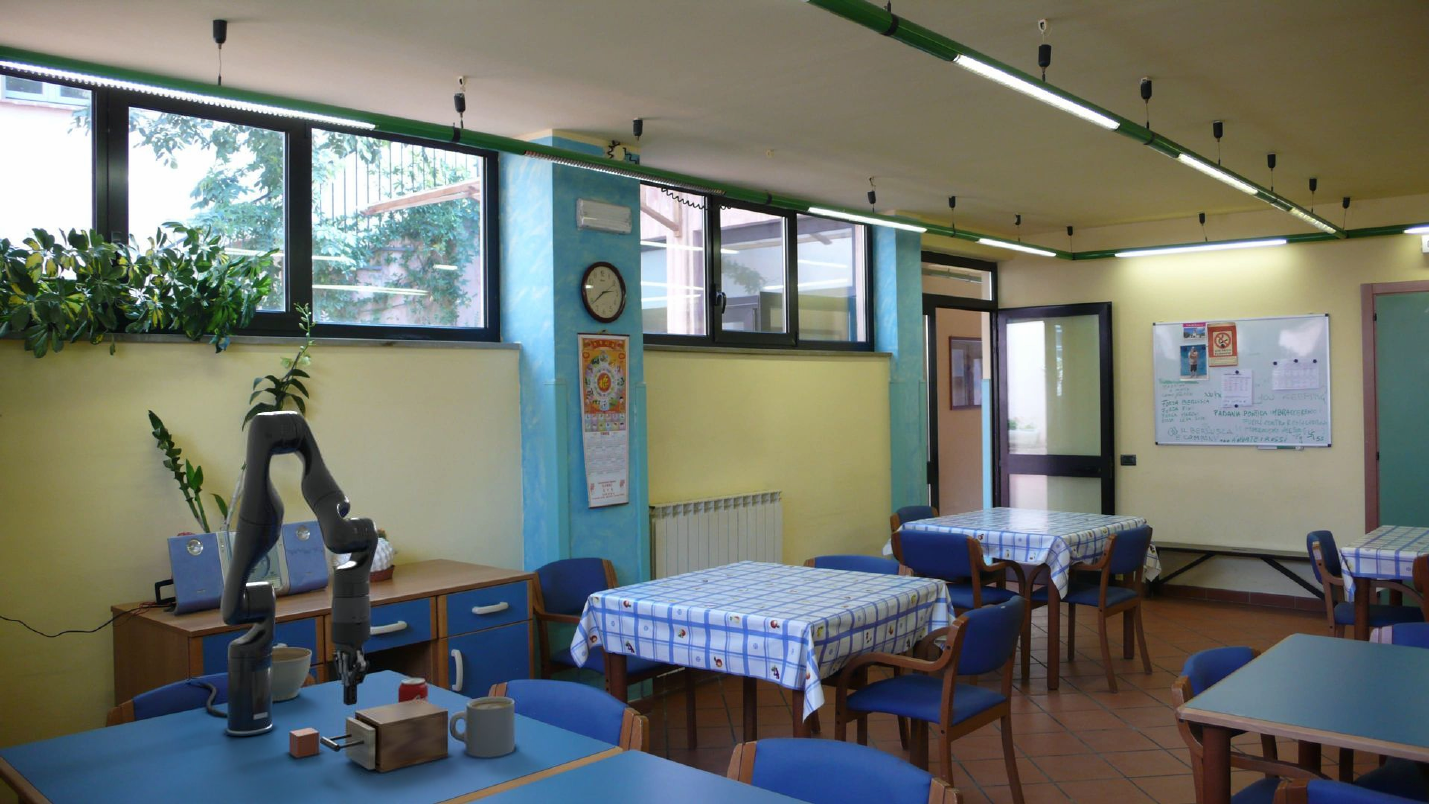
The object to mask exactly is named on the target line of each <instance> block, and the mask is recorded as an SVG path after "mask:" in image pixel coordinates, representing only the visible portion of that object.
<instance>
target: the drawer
mask: <svg viewBox="0 0 1429 804" xmlns="http://www.w3.org/2000/svg"><path fill="white" fill-rule="evenodd" d="M344 739H345V743H344V744H339V743H337V742H335V741H340V740H344ZM319 744H321V745H323V746H325V747H326V748H328V749H330V750H332V751H333V752H335V753H338V752H340V751H341V749H345V753H344V754H345V755H344V756H345V757H346V758H348V759H350V760H352V761H353V762H355V763H356V764H359V765H361V766H362V767H363V768H366V769H367V770H369V771H370V770H376V769H375V762H376V763H378V764H380V727H379V726H377V725H375V724H373V723H371V722H369V721H367V720H365V719H363V718H360V717H359V721H358V720H356V719H355V717H352V716H349V717H346V718H345V734H342V735H337V736H336V735H335V736H332V737H326V736H321V738H319Z"/></svg>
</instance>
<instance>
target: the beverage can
mask: <svg viewBox="0 0 1429 804" xmlns="http://www.w3.org/2000/svg"><path fill="white" fill-rule="evenodd" d="M397 692H398V693H397V695H398V698H397V699H398V702H397V703H400V702H405V701H410V700H416V699H422V700H424V701H427V702H429V699H428V698H429V686H428V684H427V683H426V680H425V678H422V677H409V678H404V679H402V680H401V684H400V685H399V686H398V691H397Z"/></svg>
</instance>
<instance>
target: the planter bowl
mask: <svg viewBox="0 0 1429 804" xmlns="http://www.w3.org/2000/svg"><path fill="white" fill-rule="evenodd" d="M312 656H313V651H312V650H311V649H308V648H304V647H294V646H293V647H290V646H289V647H273V683H272V702H281V701H288V700H290V699H291V700H292V699H293V698H295V697H297V696H298V693H299V690H300V689H301V687H302V686H303V685H304V683H305V682H306V679H307V677H308V674H309V671H310V669H311V662H312V659H311V658H312Z"/></svg>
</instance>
